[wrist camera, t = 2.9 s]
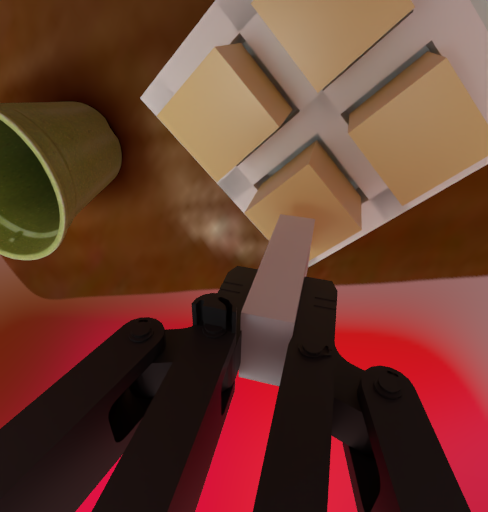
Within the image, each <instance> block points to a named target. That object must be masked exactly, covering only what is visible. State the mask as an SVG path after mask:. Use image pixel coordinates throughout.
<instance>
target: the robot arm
mask: <svg viewBox="0 0 488 512" xmlns="http://www.w3.org/2000/svg"><path fill="white" fill-rule="evenodd" d="M314 224H315V219H311V218H304V217H297V216H290V215H283V214H280V216H279V219H278V221H277V224H276V226H275V229H274V231H273V234H272V236H271V239H270V241H269V244H268V246H267V249H266V251H265V254H264V256H263V259H262V261H261V264H260V266H259V269H252V268H246V267H240V266H237V267H235V268H234V269H232V270H231V271H230V272H228V274H227V276H226V278H225V280H224V282H223V283H222V285H221V287H220V290H219V291H218V293H210V294H205V295H202V296H200V297H198V298H196V299H195V300H194V302H193V303H192V315H193V316H192V317H193V326H192V327H188V328H183V329H171V330H170V329H169V330H165V329H164V327H163V325H162V323H161V322H159V321H158V320H156V319H153V318H149V317H148V318H138V319H134V320H131V321H130V322H128V323H126V324H125V325H123V326H122V327H121V328H120V329H119V330H117V331H116V332H115V333H114V334H113V335H112V336H110V337H109V338H108V339H107V340H106V341H104V342H103V343H102V344H101V345H100V346H98V347H97V348H96V349H95V350H94V351H93V352H91V353H90V354H89V355H88V356H87V357H85V358H84V359H83V360H82V361H81V362H80V363H78V364H77V365H76V366H75V367H74V368H72V369H71V370H70V371H69V372H68V373H66V374H65V375H64V376H63V377H62V378H60V379H59V380H58V381H57V382H56V383H54V384H53V385H52V386H51V387H50V388H48V389H47V390H46V391H45V392H44V393H43V394H41V395H40V396H39V397H38V398H37V399H36V400H34V401H33V402H32V403H31V404H30V405H28V406H27V407H26V408H25V409H24V410H22V411H21V412H20V413H19V414H18V415H16V416H15V417H14V418H13V419H12V420H10V421H9V422H8V423H7V424H6V425H4V426H3V427H2V428H1V429H0V512H75V511H76V510H77V509H78V508H79V506H80V505H81V504H82V503H83V502H84V500H85V499H86V498H87V497H88V495H89V494H90V493H91V492H92V491H93V489H94V488H95V487H96V485H98V483H99V482H100V481H101V480H102V478H103V477H104V476H105V475H106V474H107V472H108V471H109V470H110V469H111V467H112V466H113V465H114V464H115V463H116V462H117V460H118V459H119V458H120V457H121V455H122V454H123V455H122V457H121V459H120V460H119V462H118V464H117V466H116V468H115V470H114V472H113V473H112V475H111V477H110V479H109V481H108V483H107V484H106V486H105V488H104V490H103V492H102V494H101V495H100V497H99V499H98V501H97V503H96V505H95V506H94V508H93V510H92V512H195V510H196V507H197V504H198V501H199V498H200V495H201V492H202V489H203V485H204V483H205V479H206V477H207V473H208V471H209V468H210V464H211V461H212V458H213V455H214V452H215V449H216V446H217V443H218V440H219V437H220V434H221V431H222V427H223V425H224V422H225V419H226V415H227V412H228V409H229V406H230V403H231V400H232V397H233V394H234V390H235V378H236V375H237V372H238V370H239V377H243V378H247V379H251V380H255V381H260V382H264V383H268V384H272V385H277V386H279V391H278V395H277V400H276V405H275V410H274V415H273V419H272V424H271V429H270V433H269V438H268V443H267V447H266V452H265V457H264V462H263V466H262V472H261V476H260V481H259V485H258V490H257V495H256V499H255V504H254V509H253V512H327V503H328V485H329V468H330V467H329V466H330V449H331V435H332V436H334V437H335V438H337V439H338V440H340V441H342V442H343V447H344V452H345V457H346V461H347V465H348V470H349V474H350V479H351V484H352V488H353V493H354V497H355V502H356V506H357V511H358V512H471V511H470V509H469V507H468V504H467V502H466V500H465V498H464V496H463V493H462V491H461V489H460V487H459V485H458V482H457V480H456V478H455V476H454V474H453V471H452V469H451V467H450V465H449V463H448V460H447V458H446V456H445V454H444V451H443V449H442V447H441V445H440V443H439V440H438V438H437V436H436V434H435V432H434V429H433V427H432V425H431V423H430V421H429V419H428V416H427V414H426V412H425V410H424V408H423V405H422V403H421V401H420V399H419V397H418V394H417V392H416V390H415V388H414V386H413V385H412V383H411V382H410V380H409V379H408V378H406V377H405V376H404V375H403V374H402V373H401V372H398V371H397V370H394V369H392V368H390V367H385V366H374V367H370V368H369V369H367V370H365V371H364V370H362V369H360V368H358V367H356V366H354V365H352V364H350V363H349V362H347V361H346V360H345V359H344V358H343V357H341V355H340V354H339V353H338V351H337V349H336V347H335V342H334V339H335V322H336V305H337V290H336V288H335V286H334V284H333V282H332V281H327V280H321V279H315V278H310V277H306V275H307V269H308V262H309V256H310V249H311V243H312V237H313V230H314Z"/></svg>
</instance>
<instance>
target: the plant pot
mask: <svg viewBox="0 0 488 512" xmlns="http://www.w3.org/2000/svg"><path fill="white" fill-rule="evenodd" d="M121 162H122V152H121V147H120V143H119V140H118V138H117V137H116V136H115V134H114V133H113V131H112V130H111V128H110V127H109V125H108V123H107V121H106V119H105V118H104V117H103V116H102V115H101V114H100V113H99V112H98V111H96V110H95V109H94V108H92V107H90V106H88V105H86V104H83V103H80V102H72V101H66V102H37V103H0V254H1V255H3V256H6V257H9V258H13V259H19V260H35V259H40V258H43V257H45V256H47V255H49V254H51V253H52V252H53V251H54V250H56V249H57V248H58V247H59V246H60V244H61V243H62V241H63V239H64V237H65V234H66V231H67V228H68V227H69V226H70V224H71V223H72V220H73V218H74V217H75V216H76V215H77V214H78V213H79V212H80V211H81V210H82V209H83V208H84V207H85V206H86V205H87V204H88V203H89V202H90V201H91V200H92V199H93V198H94V197H95V196H96V195H97V194H99V193H100V192H101V191H102V190H103V189H104V188H105V187H106V186H107V185H108V184H109V183H110V182H111V181H112V180H113V179H114V178H115V177H116V176H117V174H118V172H119V170H120V167H121Z"/></svg>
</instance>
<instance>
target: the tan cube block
mask: <svg viewBox="0 0 488 512" xmlns="http://www.w3.org/2000/svg"><path fill="white" fill-rule="evenodd" d="M244 214H245V215H246V216H247V217H248V218H249V219H250V220H251V221H252V222H253V223H254V225H255V226H256V227H257V228H258V229H259V230H260V231H261V232H262V233H263V235H264V236H265V237H266V238H267V239H268V240H269V241H270V239H271V236H272V234H273V231H274V229H275V226H276V224H277V221H278V219H279V216H280V214H283V215H290V216H297V217H304V218H311V219H315V224H314V230H313V237H312V243H311V249H310V256H309V261H310V260H312V259H313V258H315V257H317V256H318V255H320V254H322V253H324V252H325V251H327V250H329V249H330V248H332V247H334V246H335V245H337V244H339V243H341V242H342V241H344V240H346V239H347V238H349V237H351V236H353V235H354V234H356V233H358V232H359V231H361V230H362V217H361V196H360V195H359V194H358V192H357V191H356V190H355V188H354V187H353V186H352V185H351V183H350V182H349V181H348V179H347V178H346V177H345V176H344V174H343V173H342V172H341V170H340V169H339V168H338V167H337V165H336V164H335V163H334V161H333V160H332V159H331V158H330V156H329V155H328V154H327V153H326V151H325V150H324V149H323V147H322V146H321V145H320V144H319V142H318V141H317V140H316V141H315V142H313V143H312V144H311V145H310V146H308V147H307V148H306V149H305V150H303V151H302V152H301V153H300V154H298V155H297V156H296V157H295V158H293V159H292V160H291V161H290V162H288V163H287V164H286V165H285V166H283V167H282V168H281V169H280V170H278V171H277V172H276V173H275V174H273V175H272V176H271V177H270V178H268V179H267V180H266V181H265V182H263V183H262V184H261V186H260V187H259V189H258V191H257V192H256V194H255V196H254V198H253V199H252V201H251V203H250V204H249V206H248V208H247V209H246V211H245V213H244Z"/></svg>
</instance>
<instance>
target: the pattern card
mask: <svg viewBox="0 0 488 512" xmlns="http://www.w3.org/2000/svg"><path fill="white" fill-rule="evenodd" d="M470 1H471V3H472V5H473V6H474V8H475V10H476V12H477V13H478V15H479V17H480V18H481V20H482V22H483V24H484V25H485V27H486V29H487V31H488V0H470Z"/></svg>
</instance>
